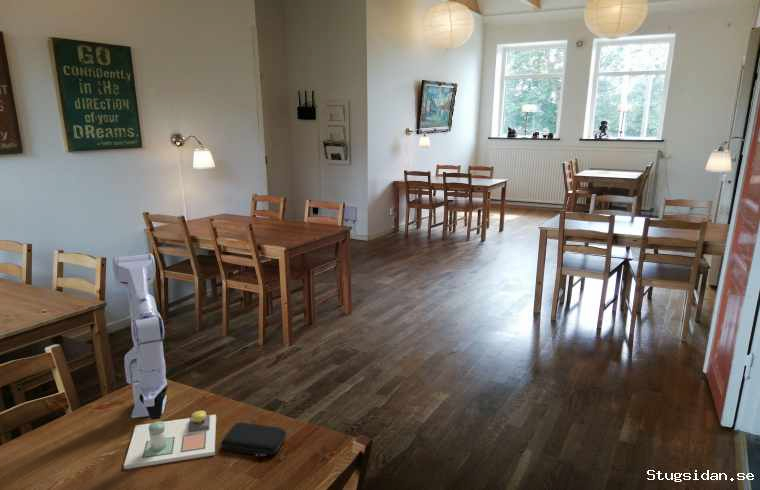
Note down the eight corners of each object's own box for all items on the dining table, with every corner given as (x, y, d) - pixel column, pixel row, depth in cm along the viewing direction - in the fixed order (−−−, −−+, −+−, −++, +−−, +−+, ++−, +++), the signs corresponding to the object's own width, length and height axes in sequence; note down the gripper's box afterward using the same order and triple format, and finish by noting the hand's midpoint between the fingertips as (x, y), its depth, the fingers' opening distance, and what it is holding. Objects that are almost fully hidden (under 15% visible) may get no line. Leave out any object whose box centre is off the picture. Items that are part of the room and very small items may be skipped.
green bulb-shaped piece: (152, 443, 122) (150, 422, 121) (167, 441, 123) (165, 420, 122) (149, 452, 119) (147, 430, 118) (165, 450, 120) (163, 428, 118)
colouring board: (136, 428, 130) (135, 421, 129) (216, 417, 135) (215, 410, 135) (124, 469, 115) (123, 461, 114) (214, 455, 120) (214, 447, 120)
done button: (192, 418, 131) (192, 411, 130) (206, 416, 132) (206, 409, 132) (191, 426, 128) (191, 419, 127) (206, 424, 129) (205, 417, 128)
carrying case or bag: (216, 454, 121) (273, 463, 119) (215, 444, 120) (272, 452, 118) (235, 429, 131) (288, 436, 129) (235, 418, 130) (288, 426, 128)
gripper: (137, 354, 121) (142, 403, 125) (126, 383, 108) (132, 437, 111) (168, 350, 123) (173, 399, 127) (161, 379, 110) (166, 433, 113)
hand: (156, 417), depth 119 cm, fingers closed
